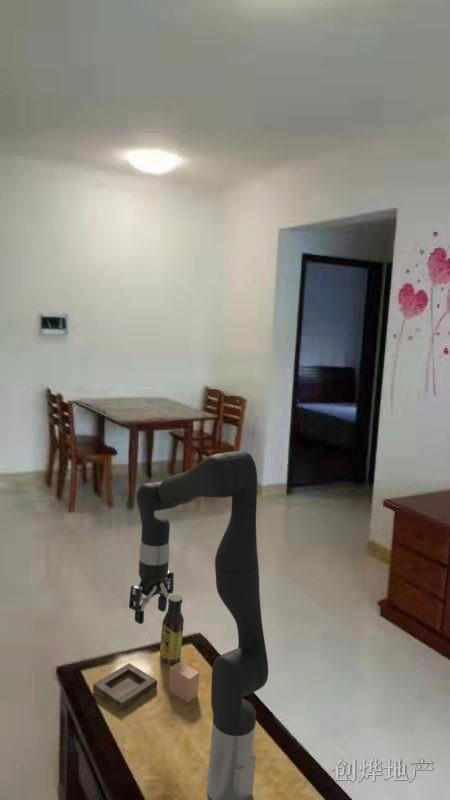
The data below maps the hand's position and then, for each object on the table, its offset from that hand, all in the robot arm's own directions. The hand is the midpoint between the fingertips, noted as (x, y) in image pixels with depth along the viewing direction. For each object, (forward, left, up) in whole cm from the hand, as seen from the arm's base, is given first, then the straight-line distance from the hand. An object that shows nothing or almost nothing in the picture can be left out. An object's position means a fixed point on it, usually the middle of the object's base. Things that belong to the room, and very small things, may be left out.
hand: (150, 616), depth 158 cm
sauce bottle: (+7, -17, -23) cm, 30 cm away
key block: (-6, -8, -23) cm, 25 cm away
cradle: (+6, +2, -23) cm, 24 cm away
